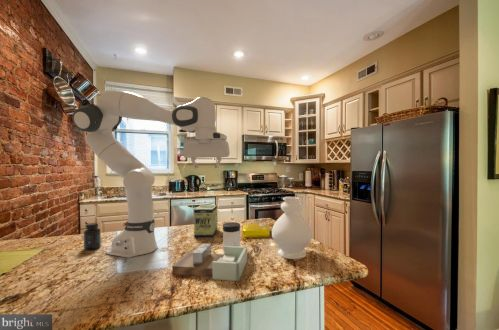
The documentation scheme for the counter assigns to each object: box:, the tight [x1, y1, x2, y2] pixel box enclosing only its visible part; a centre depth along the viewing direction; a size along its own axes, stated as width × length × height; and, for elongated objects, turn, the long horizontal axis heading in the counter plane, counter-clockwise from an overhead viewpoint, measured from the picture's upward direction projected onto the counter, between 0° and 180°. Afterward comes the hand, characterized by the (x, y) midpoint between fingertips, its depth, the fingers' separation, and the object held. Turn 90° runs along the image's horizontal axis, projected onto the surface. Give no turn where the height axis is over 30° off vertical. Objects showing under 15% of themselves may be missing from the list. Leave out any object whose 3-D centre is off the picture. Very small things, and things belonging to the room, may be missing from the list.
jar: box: [222, 221, 241, 252], centre depth 107 cm, size 9×8×12 cm
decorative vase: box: [271, 196, 313, 260], centre depth 102 cm, size 18×18×25 cm
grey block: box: [192, 243, 212, 265], centre depth 89 cm, size 4×10×4 cm, turn 170°
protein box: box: [193, 204, 218, 238], centre depth 133 cm, size 10×16×16 cm
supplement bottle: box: [83, 222, 102, 251], centre depth 112 cm, size 7×7×12 cm
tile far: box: [222, 255, 236, 262], centre depth 91 cm, size 5×5×2 cm
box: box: [212, 246, 248, 282], centre depth 87 cm, size 10×16×6 cm, turn 170°
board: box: [171, 252, 224, 278], centre depth 89 cm, size 16×13×3 cm
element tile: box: [242, 222, 271, 239], centre depth 132 cm, size 15×15×5 cm
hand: (206, 168), depth 97 cm, fingers open, 8 cm apart
